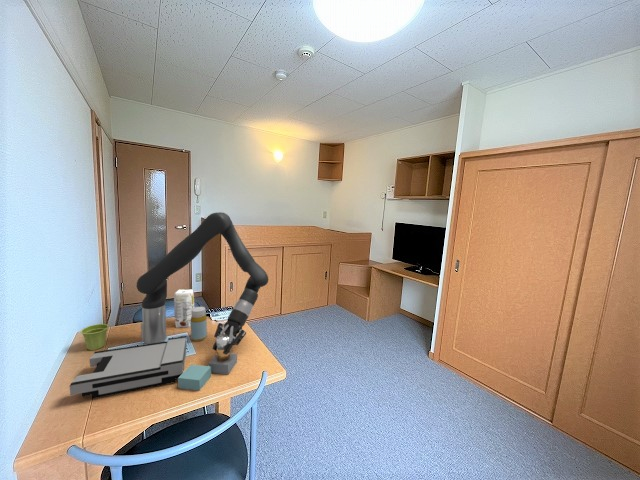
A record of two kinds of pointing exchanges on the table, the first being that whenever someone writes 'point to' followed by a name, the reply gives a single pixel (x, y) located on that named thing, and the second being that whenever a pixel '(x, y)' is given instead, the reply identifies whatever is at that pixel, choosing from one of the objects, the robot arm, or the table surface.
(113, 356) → the office tray
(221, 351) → the salt shaker
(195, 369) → the stand
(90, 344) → the plant pot
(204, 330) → the bottle
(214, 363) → the stand
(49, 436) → the table surface
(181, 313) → the juice carton
